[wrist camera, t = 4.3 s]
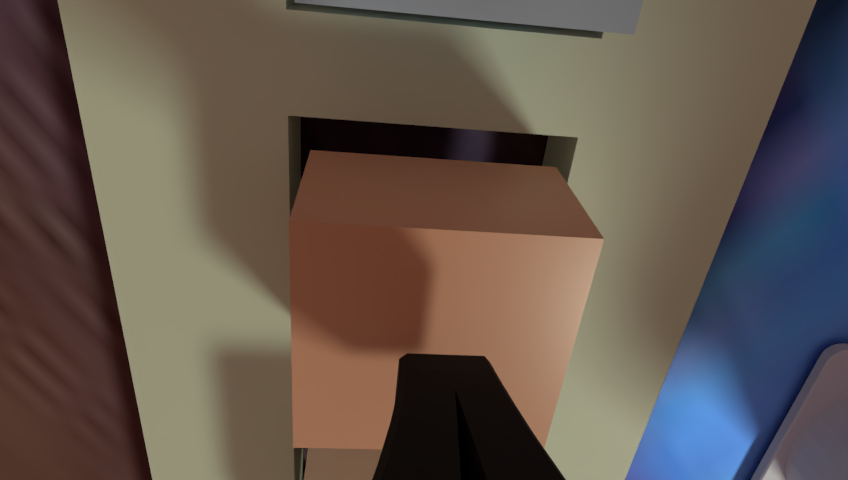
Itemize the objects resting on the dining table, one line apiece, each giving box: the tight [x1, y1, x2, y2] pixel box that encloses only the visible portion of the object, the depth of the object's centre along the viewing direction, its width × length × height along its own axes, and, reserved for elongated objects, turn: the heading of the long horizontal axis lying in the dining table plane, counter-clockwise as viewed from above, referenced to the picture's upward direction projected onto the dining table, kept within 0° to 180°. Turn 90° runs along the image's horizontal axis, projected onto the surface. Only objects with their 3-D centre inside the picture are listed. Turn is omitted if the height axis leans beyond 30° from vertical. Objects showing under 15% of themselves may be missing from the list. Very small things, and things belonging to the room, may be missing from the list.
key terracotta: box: [289, 150, 604, 449], centre depth 12 cm, size 5×5×3 cm
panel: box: [57, 0, 817, 480], centre depth 14 cm, size 14×25×2 cm, turn 174°
